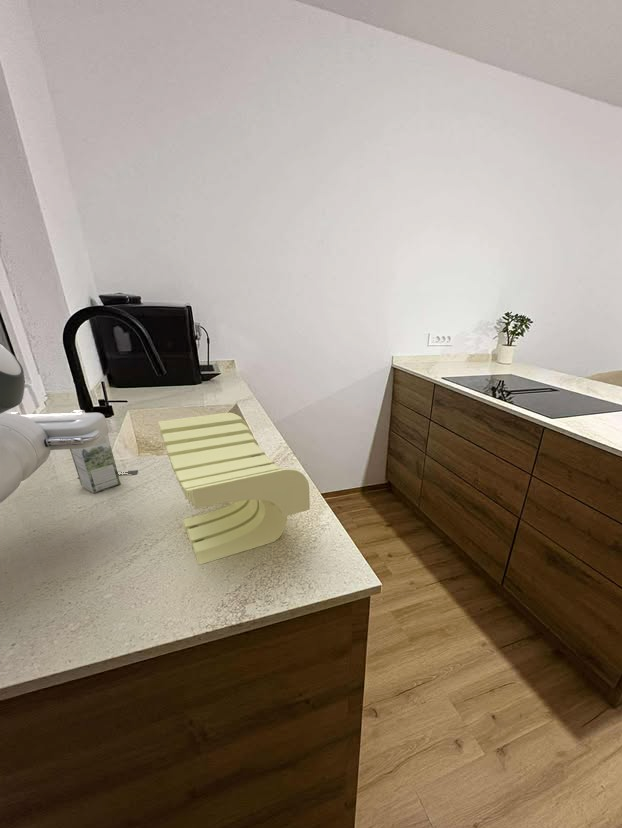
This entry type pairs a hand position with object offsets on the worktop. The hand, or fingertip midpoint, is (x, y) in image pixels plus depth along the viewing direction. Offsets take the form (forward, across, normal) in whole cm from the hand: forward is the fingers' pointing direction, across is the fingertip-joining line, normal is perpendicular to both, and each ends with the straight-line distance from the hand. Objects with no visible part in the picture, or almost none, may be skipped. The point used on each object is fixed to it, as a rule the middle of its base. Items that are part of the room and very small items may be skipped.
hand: (49, 415), depth 66 cm
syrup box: (+12, 0, +20) cm, 23 cm away
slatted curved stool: (-12, -29, +20) cm, 37 cm away
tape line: (+17, 0, +20) cm, 26 cm away
